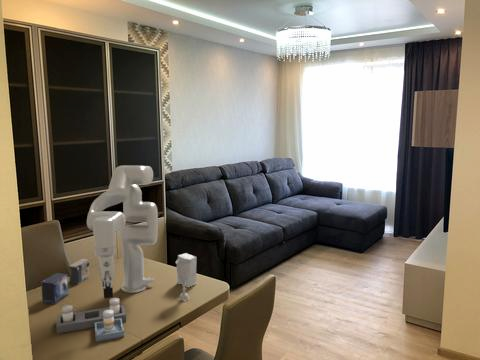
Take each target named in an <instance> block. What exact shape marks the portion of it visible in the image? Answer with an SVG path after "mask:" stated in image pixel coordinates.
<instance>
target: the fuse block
mask: <svg viewBox="0 0 480 360" xmlns="http://www.w3.org/2000/svg"><path fill="white" fill-rule="evenodd" d="M119 307H120V314H114V319H119V318H122V323H125V322H127V312H126V308H125V305H124V304H121V305H120V304H119ZM105 310H110V306H107V307H103V308H96V309H88V310H83V311H77V312H73V321H72V322H66V323H63V315H62V314H58V315H57V320H56V325H55V326H56V334H61V333H68V332H73V331H80V330H83V329H90V328H95V323H96V322H102V321H103V312H104V311H105Z"/></svg>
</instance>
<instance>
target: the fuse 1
mask: <svg viewBox="0 0 480 360" xmlns="http://www.w3.org/2000/svg"><path fill="white" fill-rule="evenodd" d="M73 308H74V307H73V305H72V304H67V305H63V306H62V307H61V313H62V314H61V315H63V323H66V322H72V321H73V313H74V312H73V311H74V309H73Z"/></svg>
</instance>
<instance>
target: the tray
mask: <svg viewBox="0 0 480 360" xmlns="http://www.w3.org/2000/svg"><path fill="white" fill-rule="evenodd" d="M123 324H124V322H122V318H119V319H114V329H115V331H114V332H110V333H104V324H103V321H102V322H96V323H95V327H94V330H95V332H94V333H95V343H100V342H103V341H109V340H115V339H120V338H124V337H125V329H124V325H123Z"/></svg>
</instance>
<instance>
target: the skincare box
mask: <svg viewBox="0 0 480 360" xmlns="http://www.w3.org/2000/svg"><path fill="white" fill-rule="evenodd" d="M179 259H189V260H191V264H190V275H189V277H188V279H187V281H185V286H187V287H189V286H191V285H193V284H195V283H196V284H197V263H198V262H197V256H195V255H192V254H189V253H187V252H185V253H182V254H178V255H177V260H179ZM176 283H180V284H182V285H183V281H181V280H180V278H179V276H178V274H177V273H176ZM180 284H179V285H180ZM182 285H181V286H182ZM191 287H192V286H191ZM189 288H190V287H189Z"/></svg>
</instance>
